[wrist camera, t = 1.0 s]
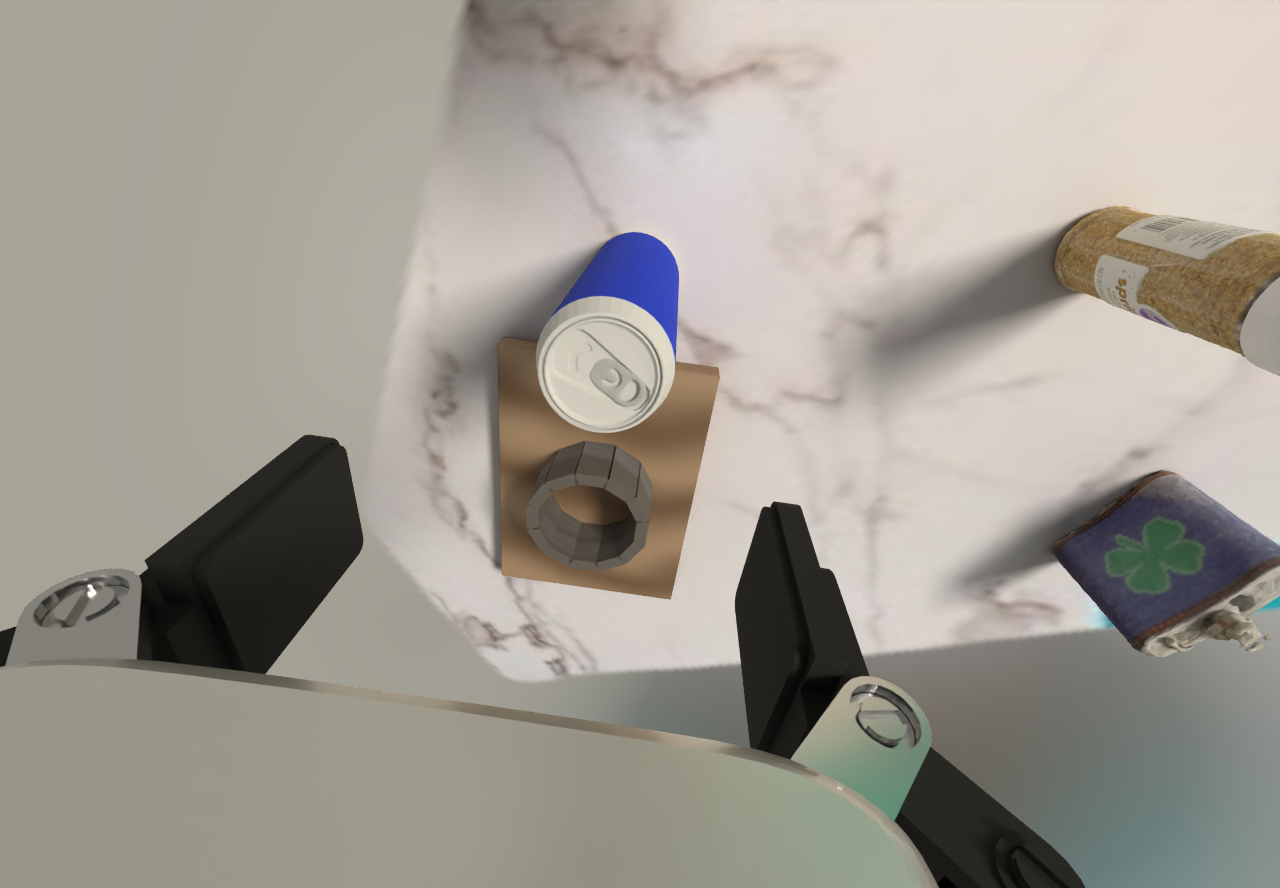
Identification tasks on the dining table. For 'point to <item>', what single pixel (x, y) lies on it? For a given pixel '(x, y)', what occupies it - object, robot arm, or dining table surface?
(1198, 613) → the flask
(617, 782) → the robot arm
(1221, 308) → the sprinkles bottle
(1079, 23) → the dining table surface
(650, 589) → the cup holder
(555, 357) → the beverage can
